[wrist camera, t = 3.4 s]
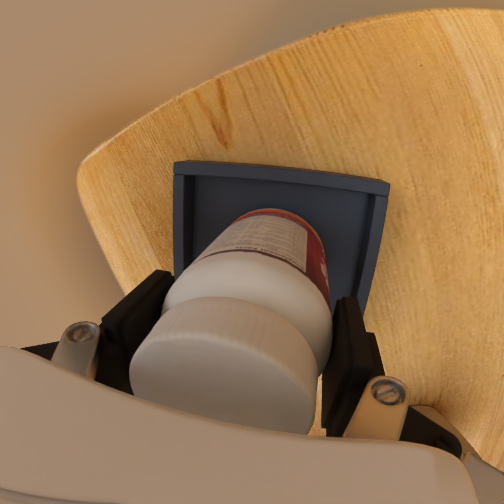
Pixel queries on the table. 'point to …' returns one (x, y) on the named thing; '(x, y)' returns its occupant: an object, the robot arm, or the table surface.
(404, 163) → the table surface
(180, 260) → the dark square tray
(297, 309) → the pill bottle
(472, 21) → the table surface
